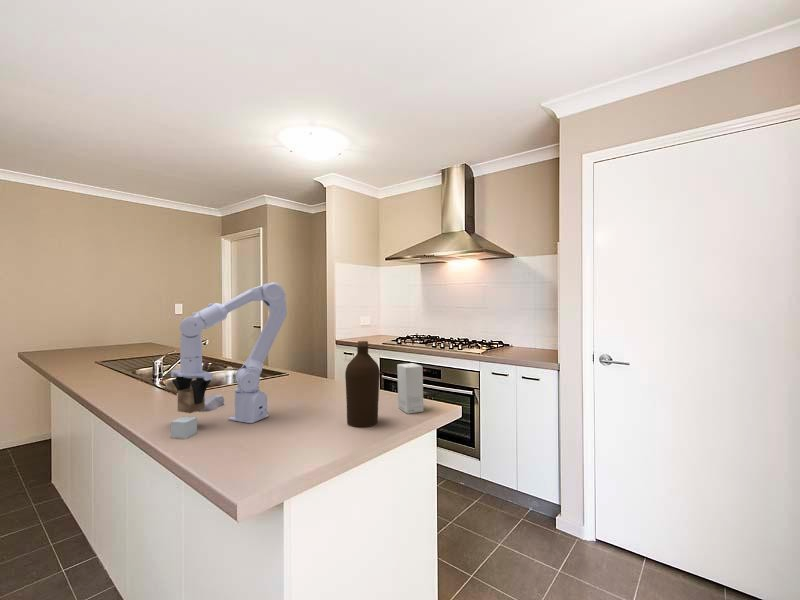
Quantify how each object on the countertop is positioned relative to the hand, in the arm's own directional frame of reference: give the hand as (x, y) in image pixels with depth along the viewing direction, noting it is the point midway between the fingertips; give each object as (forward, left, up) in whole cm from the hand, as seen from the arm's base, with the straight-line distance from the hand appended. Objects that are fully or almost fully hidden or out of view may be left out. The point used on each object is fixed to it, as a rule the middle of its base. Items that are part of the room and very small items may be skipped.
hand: (191, 402), depth 115 cm
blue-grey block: (-5, +7, -7) cm, 11 cm away
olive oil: (-46, -22, -7) cm, 51 cm away
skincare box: (-55, -40, -7) cm, 68 cm away
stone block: (+14, -16, -8) cm, 22 cm away
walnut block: (0, 0, -2) cm, 2 cm away
